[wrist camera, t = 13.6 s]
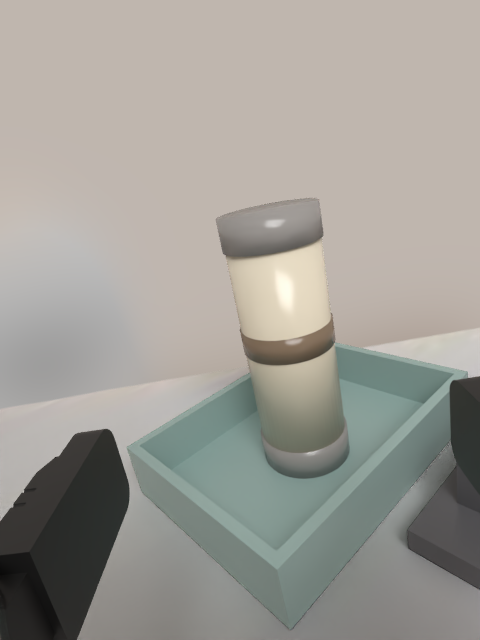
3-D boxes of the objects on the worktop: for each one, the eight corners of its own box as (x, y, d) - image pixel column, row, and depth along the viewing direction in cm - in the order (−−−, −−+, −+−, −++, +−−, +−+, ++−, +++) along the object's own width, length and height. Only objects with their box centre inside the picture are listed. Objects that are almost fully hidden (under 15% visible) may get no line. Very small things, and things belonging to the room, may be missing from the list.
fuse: (312, 492, 20) (266, 219, 16) (248, 455, 23) (195, 222, 19) (366, 441, 23) (340, 194, 18) (301, 414, 26) (266, 202, 22)
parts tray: (290, 630, 15) (277, 569, 14) (141, 491, 23) (126, 447, 22) (467, 418, 23) (467, 371, 22) (314, 372, 32) (308, 336, 31)
